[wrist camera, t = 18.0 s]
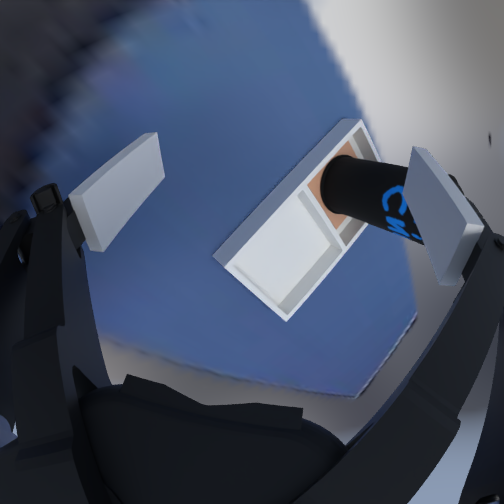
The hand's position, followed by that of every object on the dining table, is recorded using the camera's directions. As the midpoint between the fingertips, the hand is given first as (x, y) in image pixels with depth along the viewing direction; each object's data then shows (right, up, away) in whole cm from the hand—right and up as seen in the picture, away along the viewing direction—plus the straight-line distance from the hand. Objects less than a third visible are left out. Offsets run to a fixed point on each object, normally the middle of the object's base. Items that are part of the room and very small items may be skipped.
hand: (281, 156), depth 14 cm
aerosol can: (+11, +4, +24) cm, 27 cm away
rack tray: (+6, 0, +25) cm, 25 cm away
